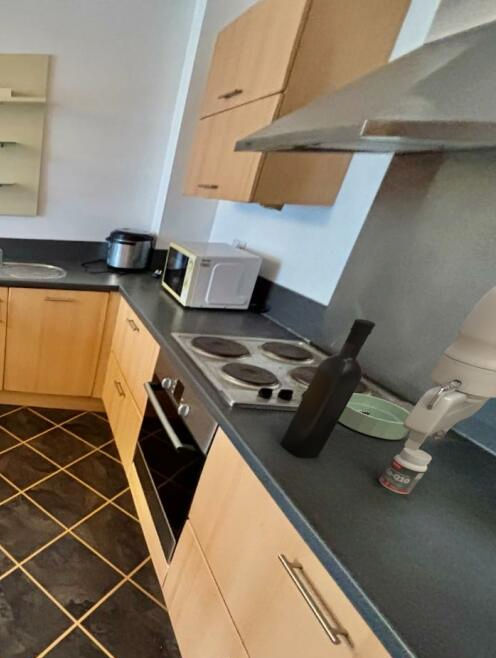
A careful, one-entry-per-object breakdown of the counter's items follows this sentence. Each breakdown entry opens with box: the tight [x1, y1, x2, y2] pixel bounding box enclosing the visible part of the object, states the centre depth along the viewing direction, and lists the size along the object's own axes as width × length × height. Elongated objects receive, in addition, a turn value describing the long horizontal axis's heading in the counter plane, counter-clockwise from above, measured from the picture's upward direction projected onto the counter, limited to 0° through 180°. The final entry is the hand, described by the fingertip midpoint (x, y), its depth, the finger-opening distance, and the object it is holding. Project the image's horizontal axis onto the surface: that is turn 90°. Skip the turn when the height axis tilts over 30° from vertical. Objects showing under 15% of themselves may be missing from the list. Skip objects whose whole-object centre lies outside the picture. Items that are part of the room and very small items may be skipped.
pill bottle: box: [379, 446, 433, 495], centre depth 80 cm, size 5×5×8 cm
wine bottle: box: [280, 318, 376, 458], centre depth 84 cm, size 6×6×30 cm
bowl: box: [338, 392, 411, 441], centre depth 102 cm, size 15×15×5 cm
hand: (422, 442), depth 77 cm, fingers open, 8 cm apart
